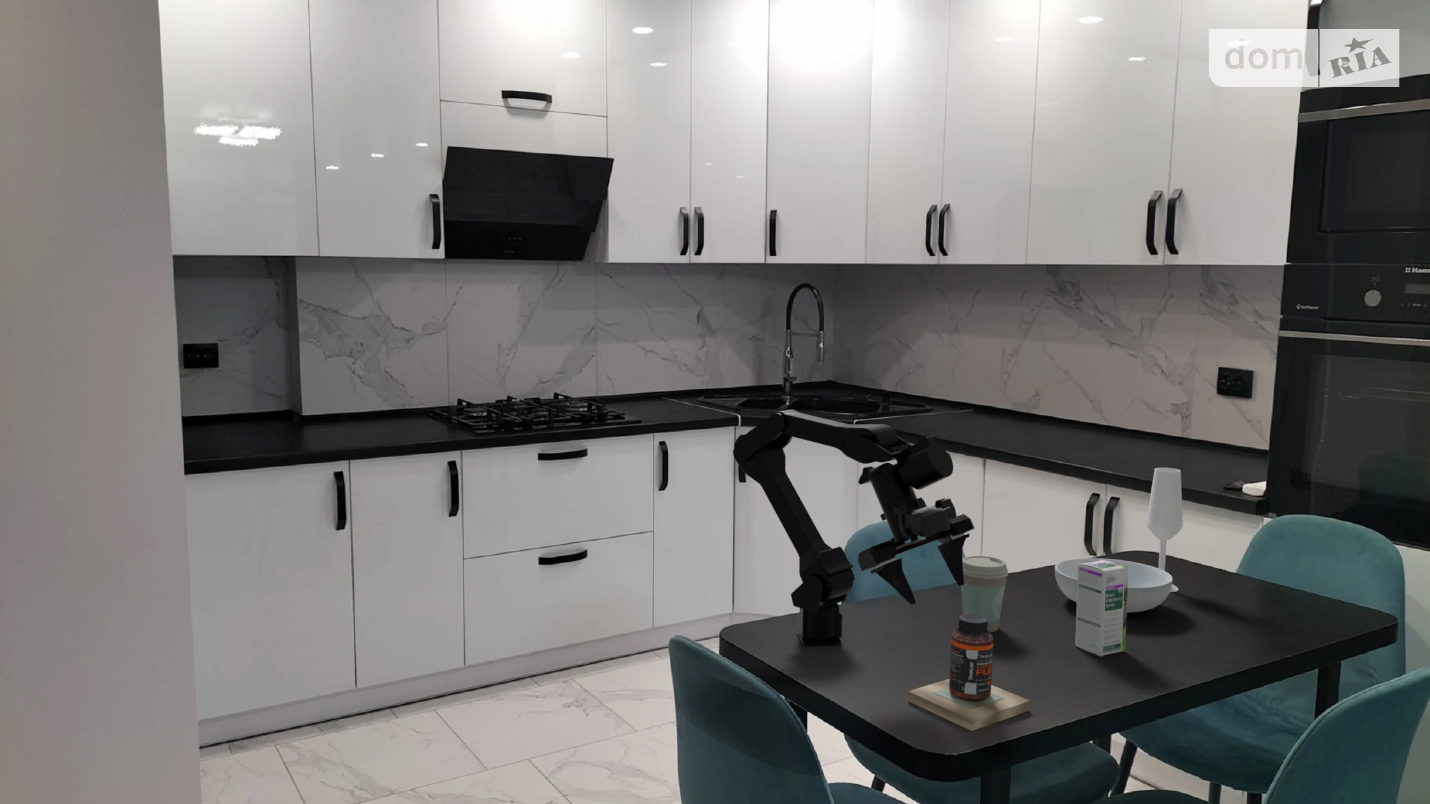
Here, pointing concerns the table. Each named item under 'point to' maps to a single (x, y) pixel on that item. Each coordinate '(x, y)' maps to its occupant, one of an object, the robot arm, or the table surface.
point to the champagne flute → (1165, 509)
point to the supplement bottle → (971, 658)
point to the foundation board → (968, 705)
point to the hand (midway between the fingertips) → (937, 594)
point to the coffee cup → (984, 588)
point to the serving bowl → (1143, 582)
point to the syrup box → (1101, 607)
